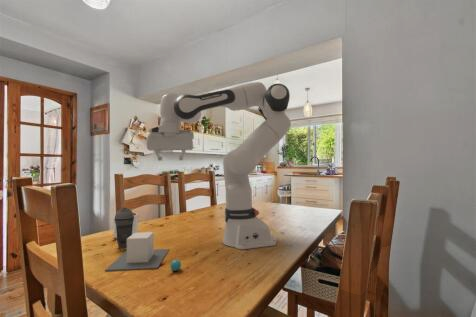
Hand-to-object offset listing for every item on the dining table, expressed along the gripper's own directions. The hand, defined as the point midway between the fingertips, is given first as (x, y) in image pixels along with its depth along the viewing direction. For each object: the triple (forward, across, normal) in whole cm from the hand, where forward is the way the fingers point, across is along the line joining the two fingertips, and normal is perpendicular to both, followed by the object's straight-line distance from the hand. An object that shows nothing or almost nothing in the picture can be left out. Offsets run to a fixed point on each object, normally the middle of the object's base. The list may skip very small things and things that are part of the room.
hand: (170, 160), depth 103 cm
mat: (+35, +6, +22) cm, 42 cm away
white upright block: (+35, +6, +22) cm, 41 cm away
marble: (+34, -8, +32) cm, 47 cm away
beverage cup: (+35, +17, +8) cm, 40 cm away
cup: (+35, +22, -6) cm, 42 cm away
